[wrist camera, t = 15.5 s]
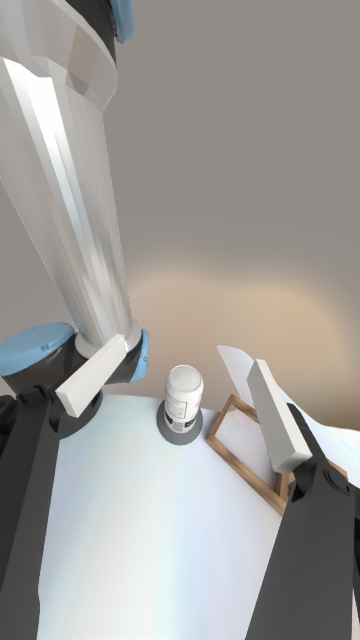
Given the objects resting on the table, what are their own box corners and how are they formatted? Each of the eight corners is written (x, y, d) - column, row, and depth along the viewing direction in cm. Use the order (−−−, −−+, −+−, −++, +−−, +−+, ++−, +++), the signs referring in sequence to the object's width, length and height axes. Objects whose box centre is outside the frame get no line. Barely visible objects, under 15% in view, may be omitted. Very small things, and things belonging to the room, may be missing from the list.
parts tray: (205, 441, 32) (207, 436, 31) (229, 399, 42) (231, 393, 41) (354, 587, 19) (367, 588, 18) (338, 475, 29) (346, 471, 28)
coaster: (147, 417, 36) (147, 416, 35) (177, 387, 44) (177, 386, 44) (182, 460, 29) (183, 459, 29) (210, 415, 37) (211, 414, 37)
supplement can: (162, 403, 39) (163, 364, 32) (190, 398, 41) (197, 361, 33) (166, 438, 32) (168, 398, 25) (199, 430, 34) (210, 392, 27)
